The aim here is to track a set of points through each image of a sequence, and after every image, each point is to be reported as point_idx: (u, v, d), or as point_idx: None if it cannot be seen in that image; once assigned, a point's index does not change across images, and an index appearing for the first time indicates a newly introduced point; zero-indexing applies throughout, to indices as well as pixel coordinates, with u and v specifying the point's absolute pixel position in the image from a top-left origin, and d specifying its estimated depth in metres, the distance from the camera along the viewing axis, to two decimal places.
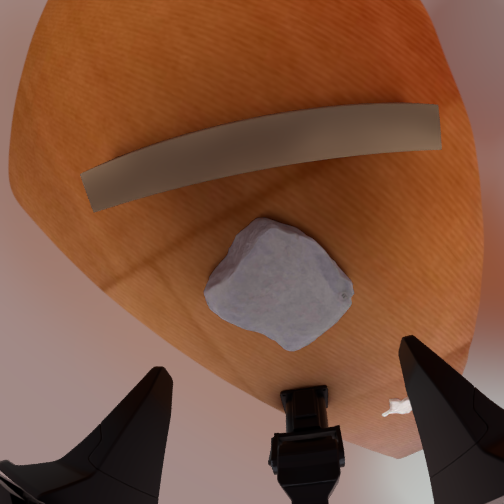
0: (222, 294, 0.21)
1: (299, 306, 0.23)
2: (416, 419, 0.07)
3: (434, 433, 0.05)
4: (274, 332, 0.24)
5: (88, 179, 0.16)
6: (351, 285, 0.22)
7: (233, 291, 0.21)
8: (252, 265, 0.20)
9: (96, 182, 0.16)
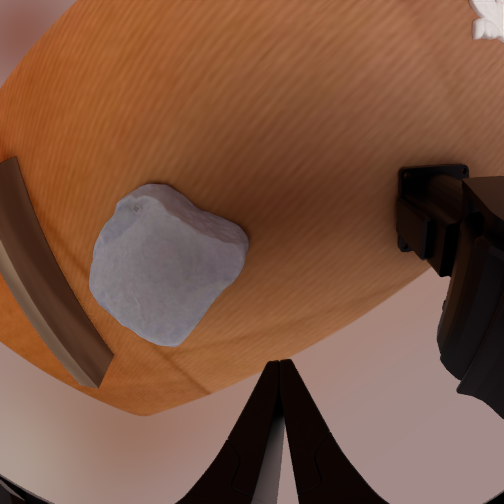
0: (146, 338, 0.20)
1: (151, 267, 0.17)
2: None
3: None
4: (202, 292, 0.18)
5: (81, 382, 0.23)
6: (120, 201, 0.16)
7: (139, 330, 0.19)
8: (114, 309, 0.19)
9: (80, 379, 0.23)
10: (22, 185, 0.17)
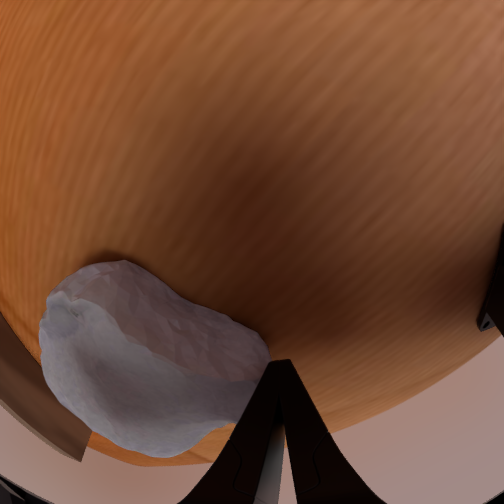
0: None
1: (116, 393, 0.09)
2: None
3: None
4: (197, 425, 0.10)
5: (61, 452, 0.15)
6: (50, 297, 0.08)
7: (115, 442, 0.11)
8: (79, 414, 0.11)
9: (59, 451, 0.15)
10: None
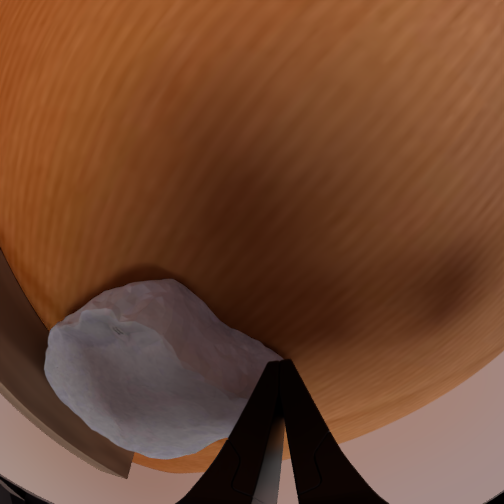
0: None
1: (140, 404, 0.09)
2: None
3: None
4: (212, 435, 0.11)
5: (101, 469, 0.14)
6: (89, 311, 0.08)
7: (115, 442, 0.11)
8: (80, 413, 0.11)
9: (100, 468, 0.14)
10: None
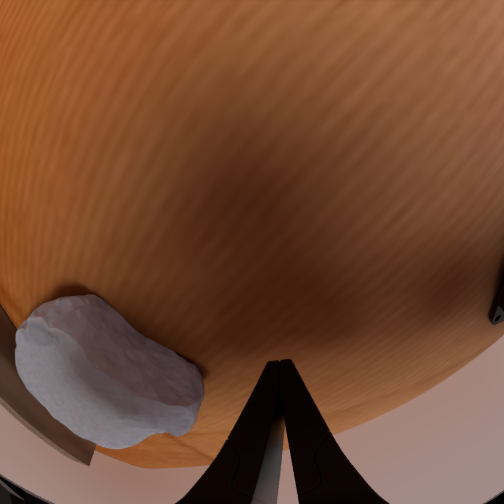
0: None
1: (78, 396, 0.10)
2: None
3: None
4: (141, 429, 0.12)
5: (68, 456, 0.15)
6: (31, 318, 0.09)
7: (72, 430, 0.12)
8: (44, 403, 0.12)
9: (66, 455, 0.14)
10: None
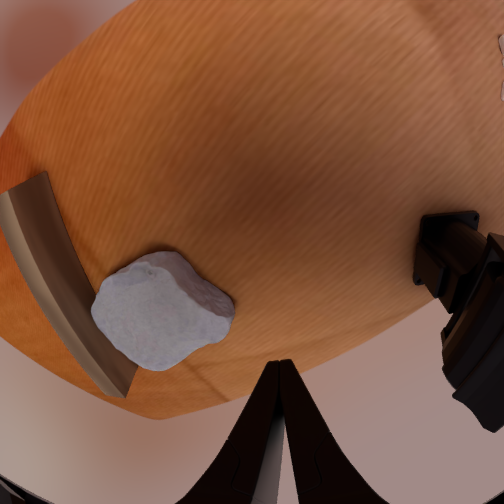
0: (135, 362, 0.23)
1: (153, 317, 0.21)
2: None
3: None
4: (190, 343, 0.22)
5: (107, 392, 0.25)
6: (137, 263, 0.19)
7: (130, 356, 0.22)
8: (111, 335, 0.22)
9: (107, 390, 0.25)
10: (53, 202, 0.19)
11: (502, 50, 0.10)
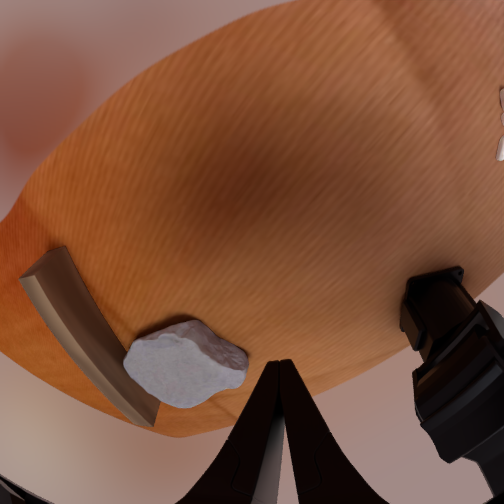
0: (165, 402, 0.26)
1: (181, 372, 0.24)
2: None
3: None
4: (212, 388, 0.25)
5: (136, 423, 0.28)
6: (165, 334, 0.22)
7: (161, 398, 0.26)
8: (144, 383, 0.25)
9: (136, 421, 0.28)
10: (76, 273, 0.22)
11: (502, 105, 0.12)
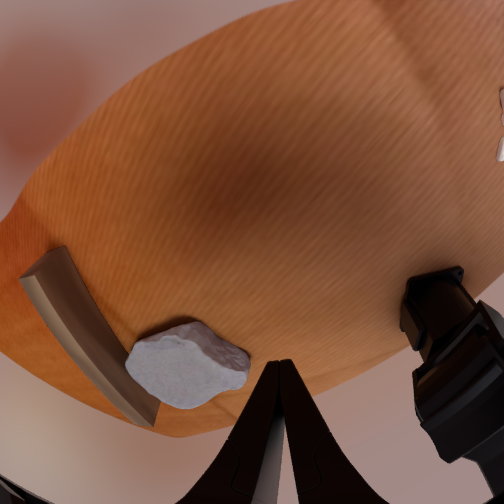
0: (167, 403, 0.26)
1: (183, 373, 0.24)
2: None
3: None
4: (214, 389, 0.25)
5: (136, 423, 0.28)
6: (167, 336, 0.22)
7: (163, 399, 0.26)
8: (146, 385, 0.26)
9: (136, 421, 0.28)
10: (76, 273, 0.22)
11: (503, 106, 0.12)
